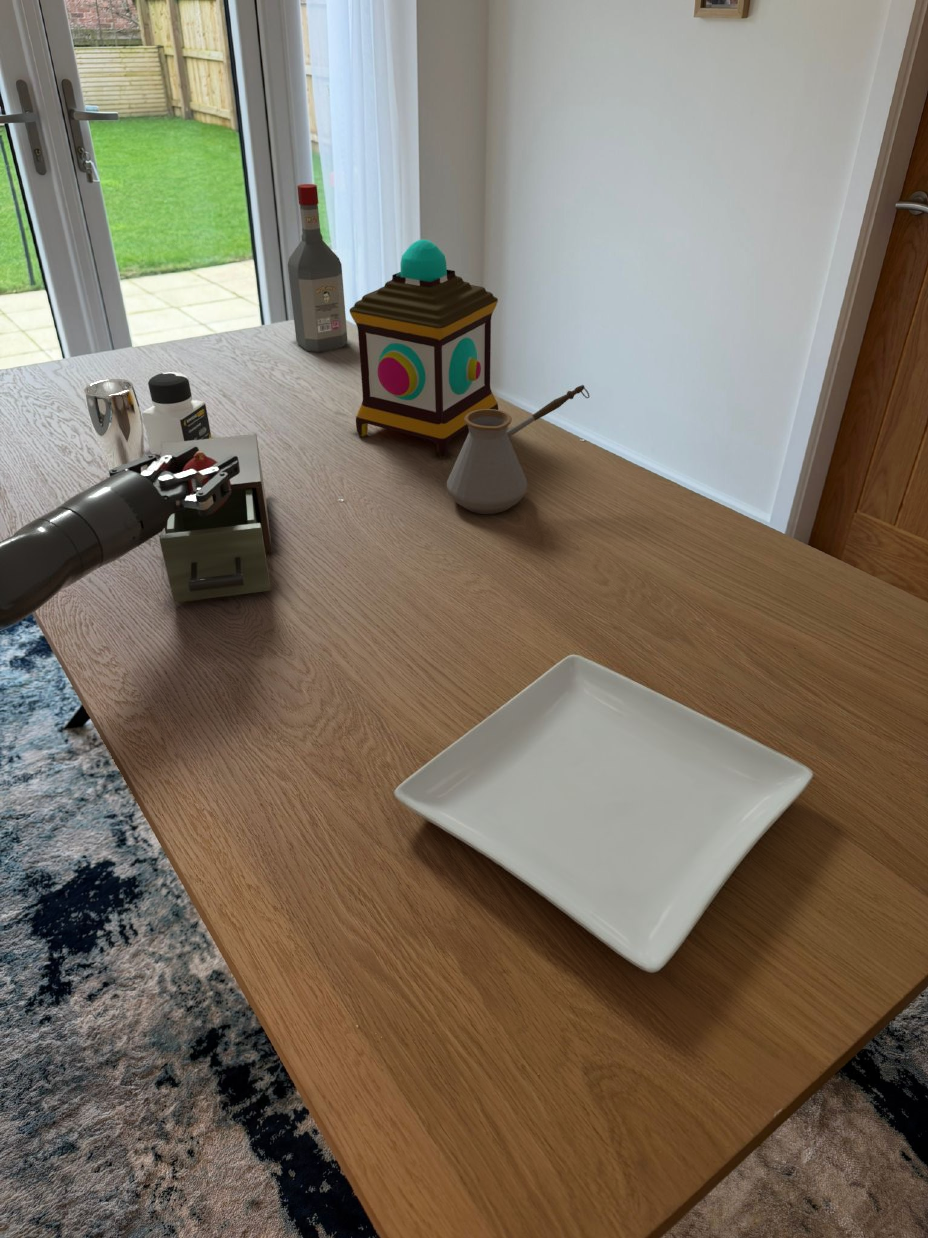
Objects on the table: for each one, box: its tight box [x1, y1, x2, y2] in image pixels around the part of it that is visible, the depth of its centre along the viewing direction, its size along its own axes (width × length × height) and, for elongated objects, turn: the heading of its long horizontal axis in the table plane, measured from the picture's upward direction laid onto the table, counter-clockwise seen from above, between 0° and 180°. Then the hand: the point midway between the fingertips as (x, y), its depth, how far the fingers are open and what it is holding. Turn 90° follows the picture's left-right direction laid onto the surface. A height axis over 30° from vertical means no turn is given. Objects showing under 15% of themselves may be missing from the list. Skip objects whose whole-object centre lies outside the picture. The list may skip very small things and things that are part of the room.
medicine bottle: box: [141, 371, 213, 456], centre depth 140 cm, size 7×7×12 cm
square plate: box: [393, 653, 814, 974], centre depth 80 cm, size 27×27×4 cm
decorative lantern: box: [349, 238, 499, 459], centre depth 141 cm, size 20×20×30 cm
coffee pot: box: [446, 384, 590, 515], centre depth 126 cm, size 21×12×15 cm, turn 115°
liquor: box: [287, 183, 348, 353], centre depth 176 cm, size 9×9×30 cm
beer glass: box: [83, 378, 148, 472], centre depth 129 cm, size 7×7×15 cm
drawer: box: [158, 488, 272, 603], centre depth 108 cm, size 19×11×9 cm, turn 13°
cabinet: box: [159, 433, 273, 554], centre depth 119 cm, size 15×13×11 cm
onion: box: [182, 451, 231, 514], centre depth 104 cm, size 6×6×8 cm
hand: (216, 458), depth 105 cm, fingers closed on onion, 5 cm apart
